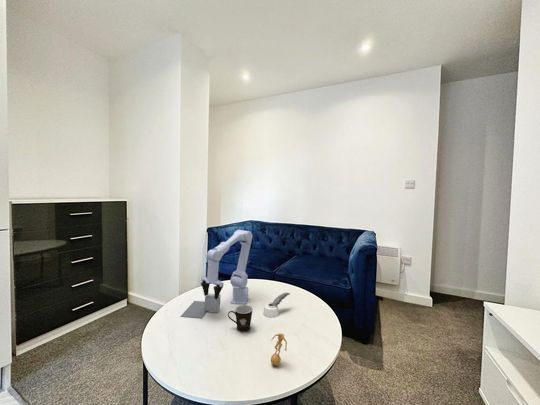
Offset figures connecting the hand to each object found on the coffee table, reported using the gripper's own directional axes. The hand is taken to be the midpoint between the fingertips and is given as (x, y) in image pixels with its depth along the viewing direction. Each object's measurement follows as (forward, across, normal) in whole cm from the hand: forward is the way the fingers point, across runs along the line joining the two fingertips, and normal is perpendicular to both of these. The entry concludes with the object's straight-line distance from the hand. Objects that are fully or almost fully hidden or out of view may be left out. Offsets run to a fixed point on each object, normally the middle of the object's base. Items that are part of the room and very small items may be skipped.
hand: (211, 296), depth 129 cm
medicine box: (+10, -4, +5) cm, 12 cm away
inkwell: (+9, +28, +25) cm, 39 cm away
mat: (+10, -11, +2) cm, 15 cm away
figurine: (+11, +48, -11) cm, 50 cm away
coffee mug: (+11, +20, +1) cm, 23 cm away
